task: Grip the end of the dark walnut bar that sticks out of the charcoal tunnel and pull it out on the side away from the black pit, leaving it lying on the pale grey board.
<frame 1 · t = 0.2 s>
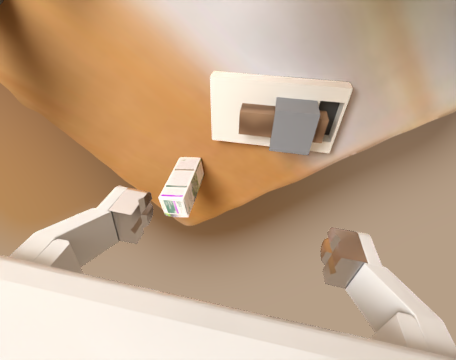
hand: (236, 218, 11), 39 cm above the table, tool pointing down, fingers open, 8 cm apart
bar: (281, 118, 46), point 3 cm above the table, touching board
syrup box: (192, 165, 62), on the table
board: (274, 110, 48), on the table
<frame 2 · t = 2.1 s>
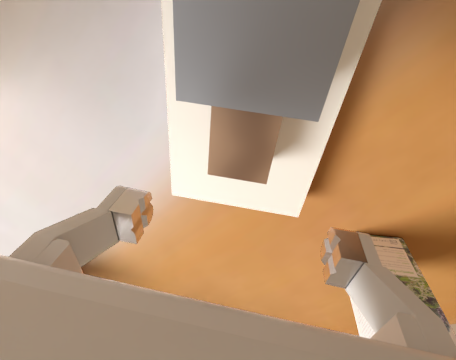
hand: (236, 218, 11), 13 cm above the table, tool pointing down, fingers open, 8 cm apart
bar: (256, 62, 17), point 3 cm above the table, touching board
syrup box: (368, 247, 30), on the table
board: (255, 74, 20), on the table
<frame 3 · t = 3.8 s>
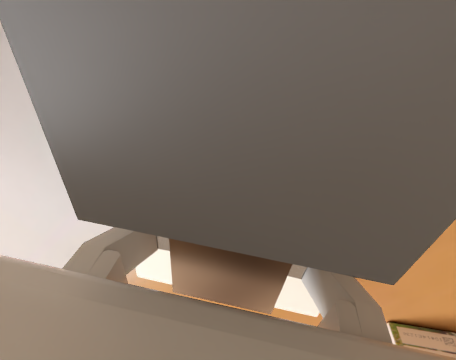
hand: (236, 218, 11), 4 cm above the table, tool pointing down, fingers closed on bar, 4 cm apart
bar: (254, 114, 9), point 3 cm above the table, touching board, gripper
syrup box: (408, 337, 22), on the table
board: (255, 121, 13), on the table
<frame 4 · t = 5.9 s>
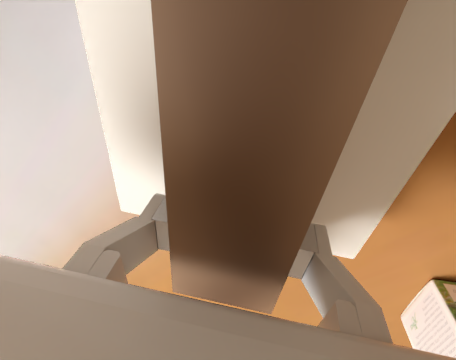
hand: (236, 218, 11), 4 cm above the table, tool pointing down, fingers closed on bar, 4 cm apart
bar: (255, 113, 9), point 3 cm above the table, touching gripper
syrup box: (452, 300, 18), on the table
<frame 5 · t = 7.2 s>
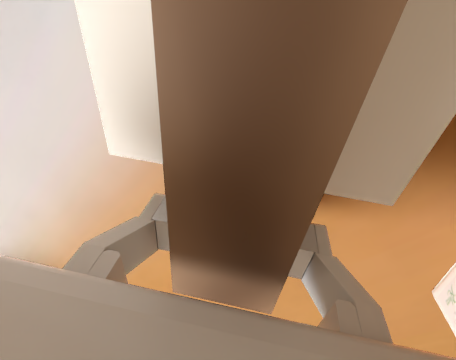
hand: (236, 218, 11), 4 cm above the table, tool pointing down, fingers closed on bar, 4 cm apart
bar: (255, 114, 9), point 3 cm above the table, touching gripper
when the fingers open (4 cm above the table, at t = 7.9 s): bar stays where it is, resting on board.
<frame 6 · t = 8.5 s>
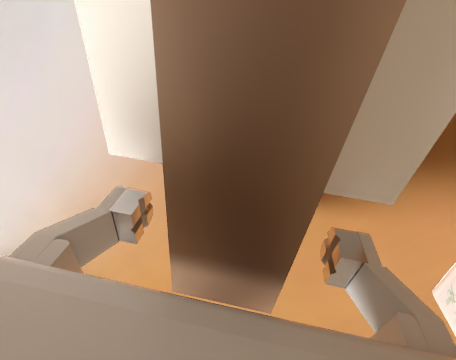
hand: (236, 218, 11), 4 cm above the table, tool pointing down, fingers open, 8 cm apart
bar: (254, 113, 9), point 3 cm above the table, touching board
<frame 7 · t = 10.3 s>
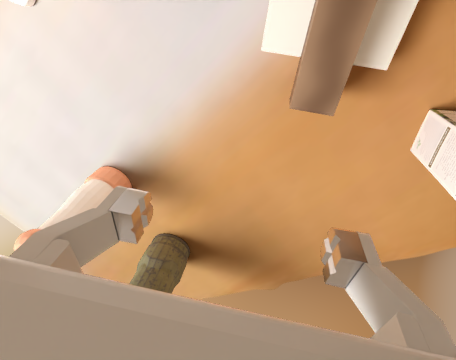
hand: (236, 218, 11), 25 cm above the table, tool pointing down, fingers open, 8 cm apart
bar: (332, 25, 24), point 3 cm above the table, touching board
syrup box: (443, 131, 30), on the table
pepper shaker: (114, 182, 46), on the table
thermos: (171, 246, 54), on the table
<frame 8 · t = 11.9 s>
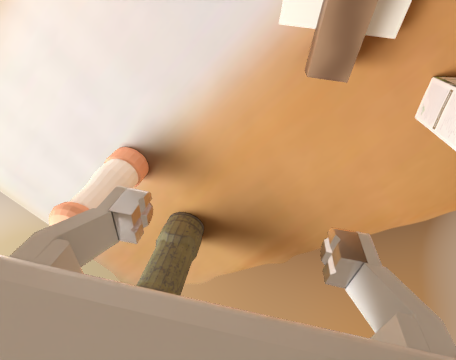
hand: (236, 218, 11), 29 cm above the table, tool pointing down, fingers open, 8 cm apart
syrup box: (444, 97, 33), on the table
pepper shaker: (131, 162, 48), on the table
thermos: (186, 225, 56), on the table
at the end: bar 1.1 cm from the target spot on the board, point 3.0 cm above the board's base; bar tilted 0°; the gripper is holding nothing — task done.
